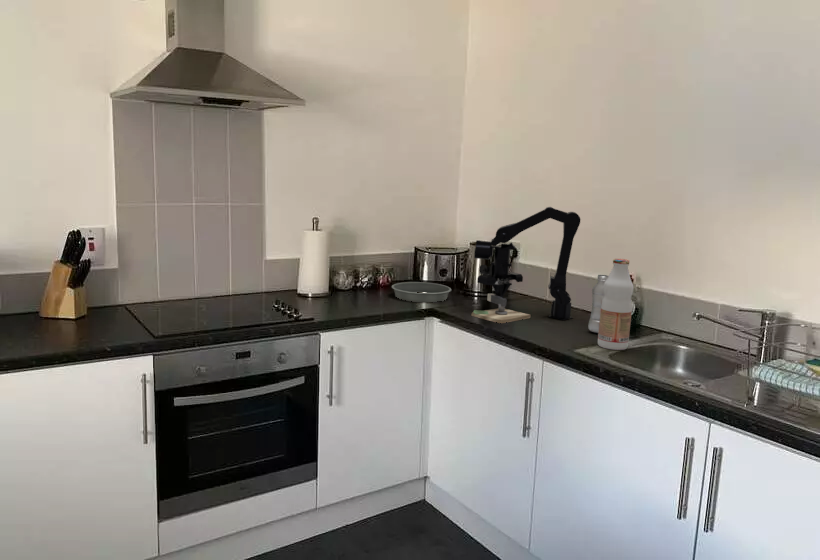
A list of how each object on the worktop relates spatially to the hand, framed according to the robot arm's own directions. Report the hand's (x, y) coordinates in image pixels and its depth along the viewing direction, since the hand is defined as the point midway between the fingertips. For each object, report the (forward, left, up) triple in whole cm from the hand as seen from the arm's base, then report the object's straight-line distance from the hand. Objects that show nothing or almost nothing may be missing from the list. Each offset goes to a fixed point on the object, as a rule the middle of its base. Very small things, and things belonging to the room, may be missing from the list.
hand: (498, 300), depth 260 cm
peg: (-2, +4, -2) cm, 5 cm away
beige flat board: (-4, +5, -4) cm, 8 cm away
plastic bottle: (-40, -6, -5) cm, 40 cm away
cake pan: (+36, +6, -5) cm, 37 cm away
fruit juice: (-53, +6, -5) cm, 53 cm away
